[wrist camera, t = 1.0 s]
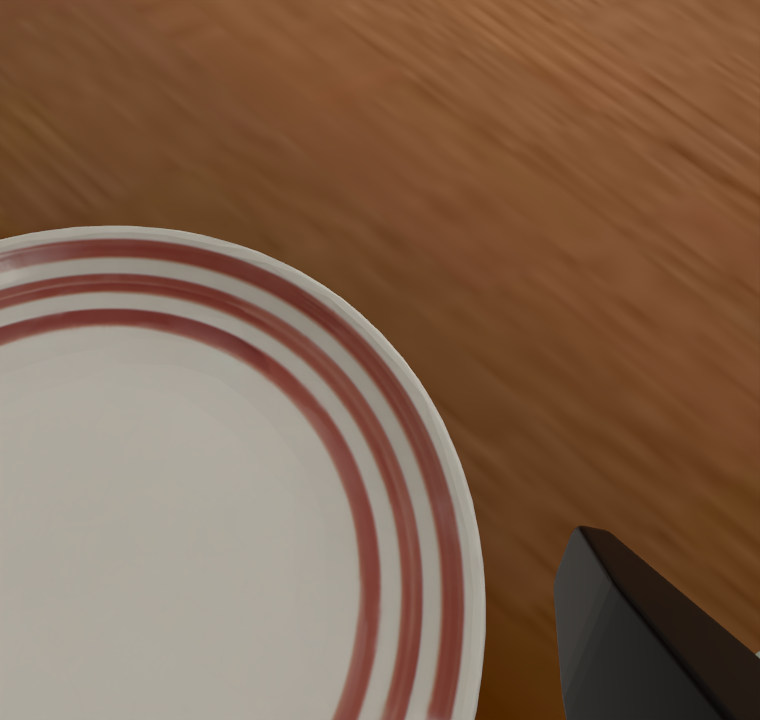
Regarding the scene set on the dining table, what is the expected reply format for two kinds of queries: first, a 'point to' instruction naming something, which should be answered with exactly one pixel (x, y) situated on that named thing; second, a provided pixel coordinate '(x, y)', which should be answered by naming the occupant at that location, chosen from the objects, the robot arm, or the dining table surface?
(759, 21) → the dining table surface
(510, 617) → the dining table surface
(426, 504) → the dinner plate
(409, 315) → the dining table surface
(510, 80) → the dining table surface
